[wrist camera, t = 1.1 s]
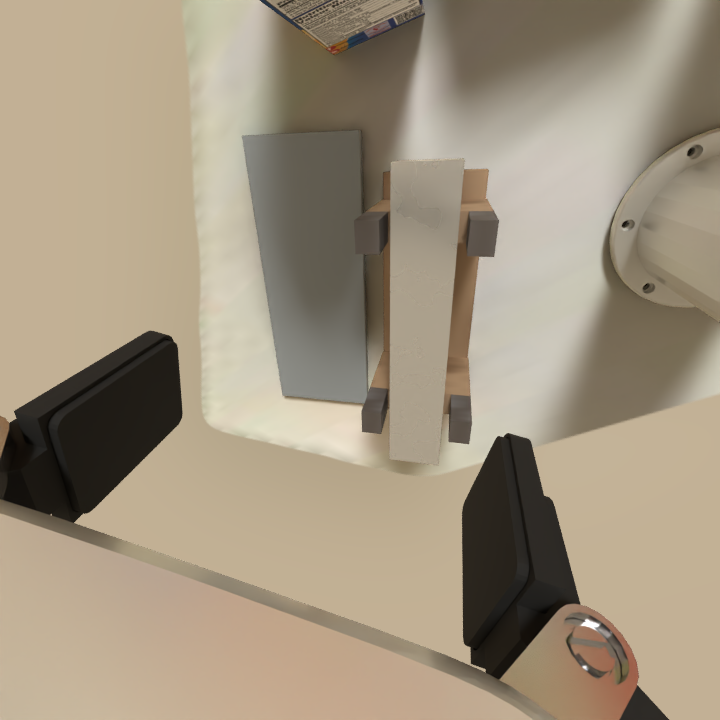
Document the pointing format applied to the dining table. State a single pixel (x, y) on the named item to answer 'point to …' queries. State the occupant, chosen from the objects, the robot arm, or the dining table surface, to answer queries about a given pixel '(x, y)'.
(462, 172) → the steel bar
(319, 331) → the rubber mat
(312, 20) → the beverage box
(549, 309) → the dining table surface
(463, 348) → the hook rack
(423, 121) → the dining table surface
